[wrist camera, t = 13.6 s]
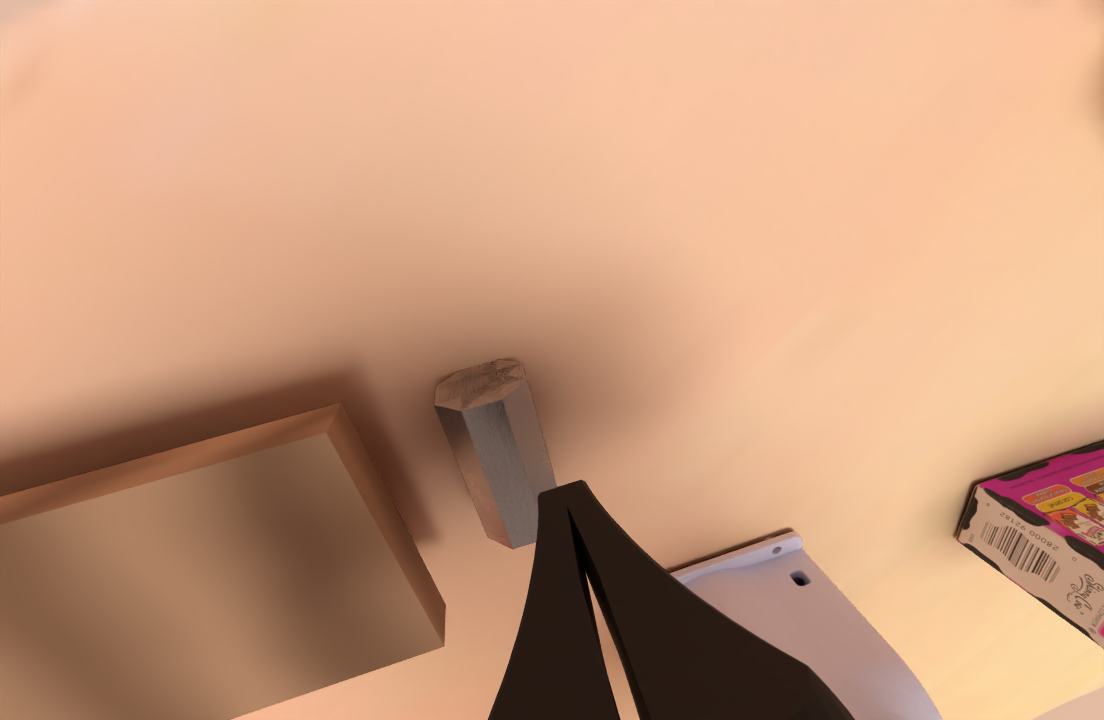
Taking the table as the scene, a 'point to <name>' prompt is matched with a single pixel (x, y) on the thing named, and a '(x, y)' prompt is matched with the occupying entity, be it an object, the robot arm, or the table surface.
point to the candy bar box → (1047, 533)
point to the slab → (209, 579)
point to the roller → (497, 447)
